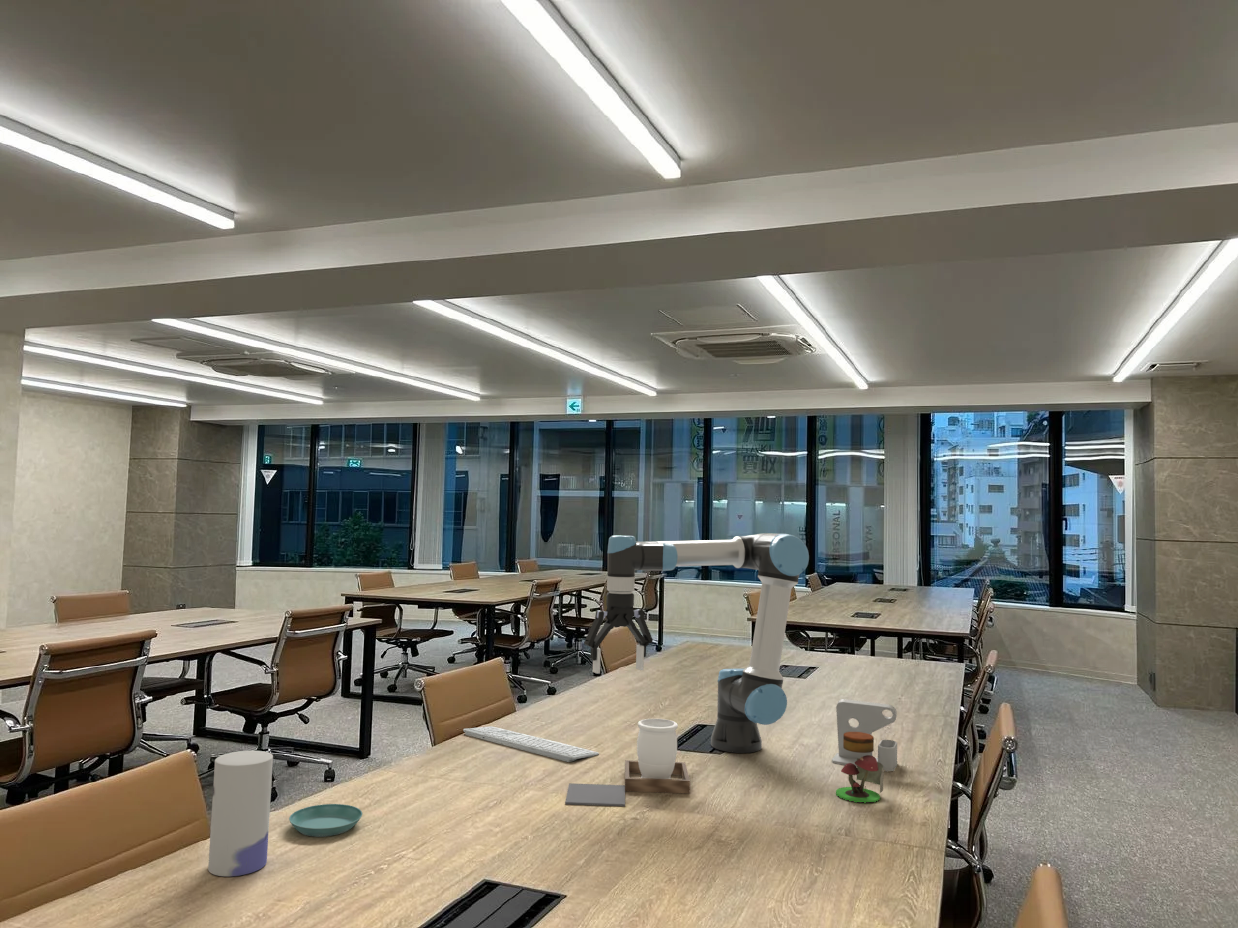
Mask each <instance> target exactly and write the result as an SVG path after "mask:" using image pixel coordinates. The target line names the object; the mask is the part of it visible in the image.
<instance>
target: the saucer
mask: <svg viewBox="0 0 1238 928" xmlns="http://www.w3.org/2000/svg"><path fill="white" fill-rule="evenodd" d="M362 817H363V812H362V810H361V809H360V808H358V807H357V806H353V805H349V804H343V803H326V804H325V803H324V804H317V805H316V804H315V805H310V806H307V807H304V808H301V809H298V810H296V811H294V812H293V813H292V814H291V815H289V817H288V820H289V822H290V825H291V826H292V827H293V828H294V829H295V830H296V831H298V833H300V834H301V835H304V836H307V837H314V838H315V837H316V838H317V837H318V838H319V837H320V838H322V837H330V836H337V835H341V834H343V833H346V832H348V831H350V830H351V829H352V828H354V827H355V825H357V823H359V821H360V819H362Z"/></svg>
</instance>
